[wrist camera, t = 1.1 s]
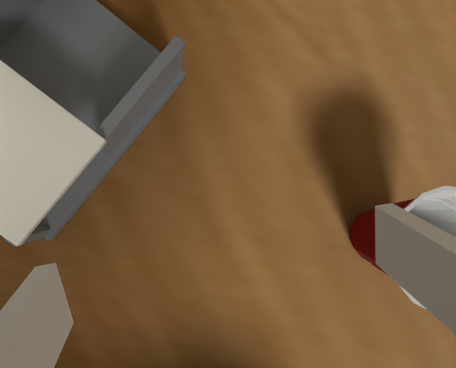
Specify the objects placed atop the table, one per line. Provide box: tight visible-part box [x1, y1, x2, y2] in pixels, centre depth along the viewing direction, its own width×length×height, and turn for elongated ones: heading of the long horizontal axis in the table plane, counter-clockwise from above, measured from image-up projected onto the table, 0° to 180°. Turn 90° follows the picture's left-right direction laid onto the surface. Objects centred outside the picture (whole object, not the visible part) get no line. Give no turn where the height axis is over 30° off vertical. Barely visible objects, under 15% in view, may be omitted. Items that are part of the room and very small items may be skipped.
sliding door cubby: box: [0, 0, 186, 247], centre depth 31 cm, size 21×16×8 cm
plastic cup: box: [351, 186, 456, 309], centre depth 35 cm, size 11×11×12 cm
